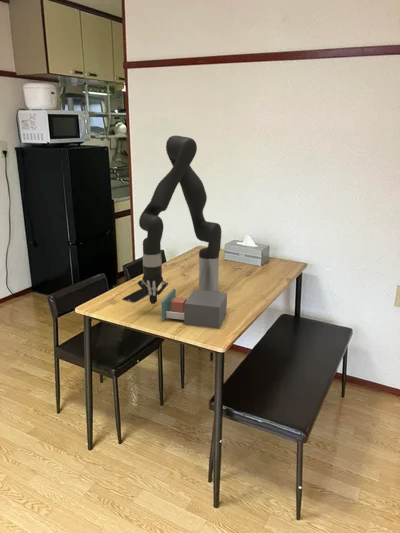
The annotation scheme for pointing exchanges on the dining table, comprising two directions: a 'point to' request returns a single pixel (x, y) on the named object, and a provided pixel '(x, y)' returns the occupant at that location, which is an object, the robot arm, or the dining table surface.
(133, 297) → the smartphone
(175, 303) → the block
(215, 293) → the housing
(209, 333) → the dining table surface
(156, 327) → the dining table surface
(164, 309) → the drawer
